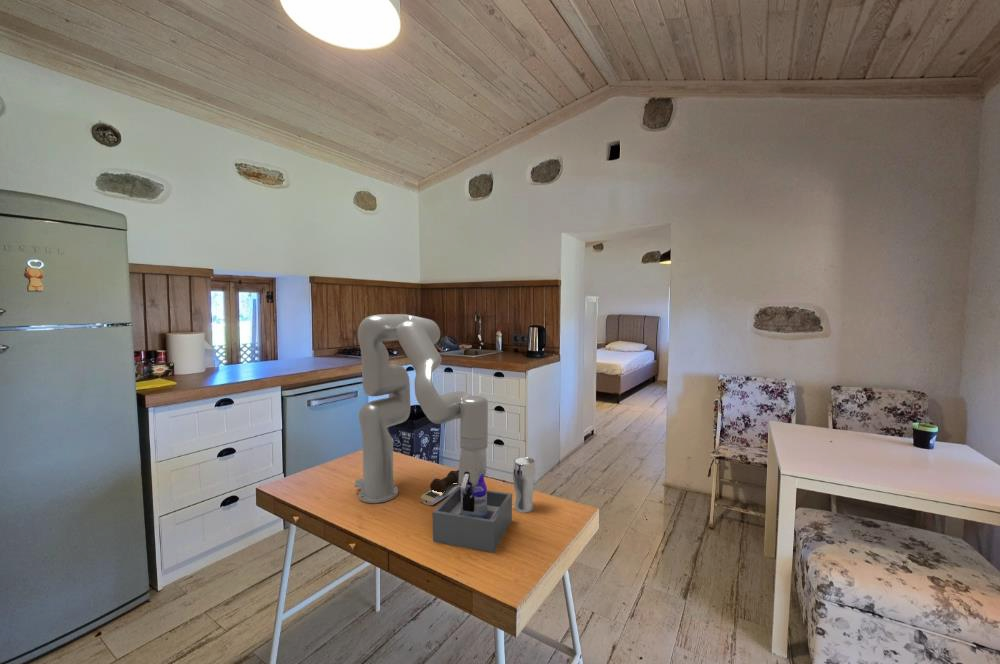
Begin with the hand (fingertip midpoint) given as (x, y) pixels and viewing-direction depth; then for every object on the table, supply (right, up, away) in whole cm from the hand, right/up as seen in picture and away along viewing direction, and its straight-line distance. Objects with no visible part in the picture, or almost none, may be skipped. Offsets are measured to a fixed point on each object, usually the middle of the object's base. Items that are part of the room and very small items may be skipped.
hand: (473, 503), depth 116 cm
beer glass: (+15, -7, +14) cm, 21 cm away
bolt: (-10, -6, +29) cm, 31 cm away
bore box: (0, -8, 0) cm, 8 cm away
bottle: (0, -5, 0) cm, 5 cm away
